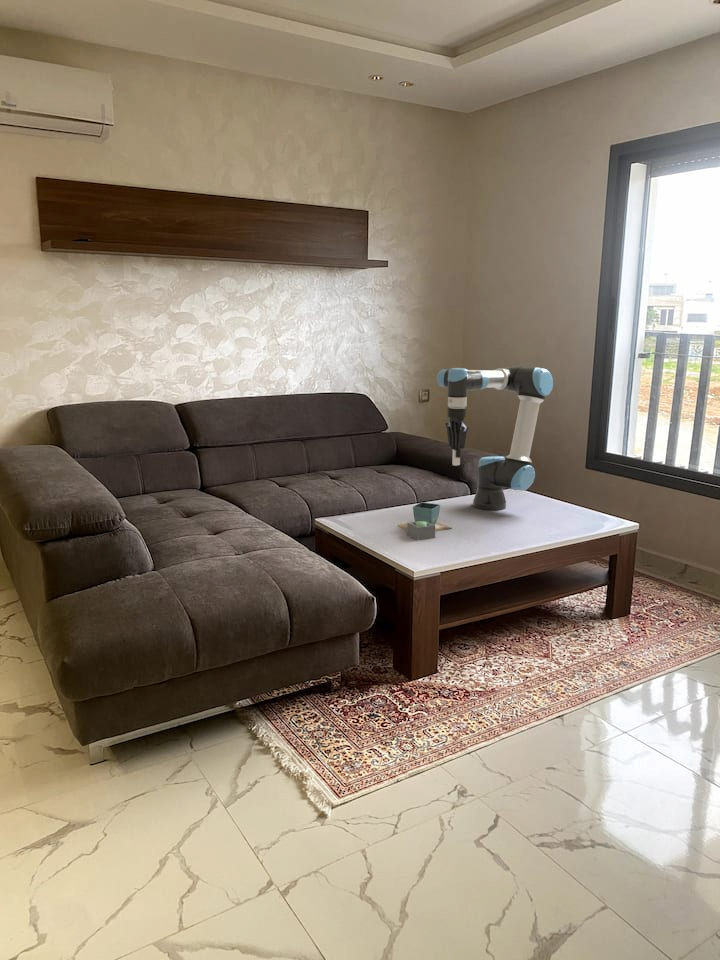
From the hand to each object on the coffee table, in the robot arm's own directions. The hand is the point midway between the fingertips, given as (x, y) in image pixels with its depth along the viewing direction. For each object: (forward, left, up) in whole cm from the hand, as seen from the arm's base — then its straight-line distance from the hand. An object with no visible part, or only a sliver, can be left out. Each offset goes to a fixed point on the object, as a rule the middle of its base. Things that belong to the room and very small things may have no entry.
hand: (456, 464), depth 306 cm
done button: (+20, +7, -25) cm, 33 cm away
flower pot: (+12, -2, -26) cm, 28 cm away
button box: (+20, +7, -26) cm, 33 cm away
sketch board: (+12, -4, -26) cm, 29 cm away
